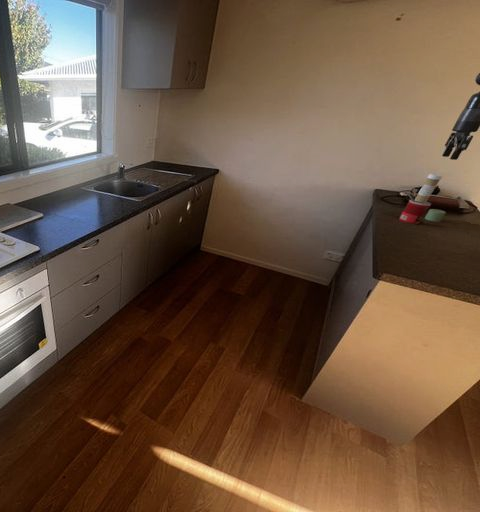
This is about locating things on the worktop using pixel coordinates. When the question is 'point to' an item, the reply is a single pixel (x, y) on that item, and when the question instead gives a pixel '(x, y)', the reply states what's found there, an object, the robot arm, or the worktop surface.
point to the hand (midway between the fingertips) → (449, 158)
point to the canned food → (414, 212)
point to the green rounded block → (435, 215)
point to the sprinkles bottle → (428, 187)
